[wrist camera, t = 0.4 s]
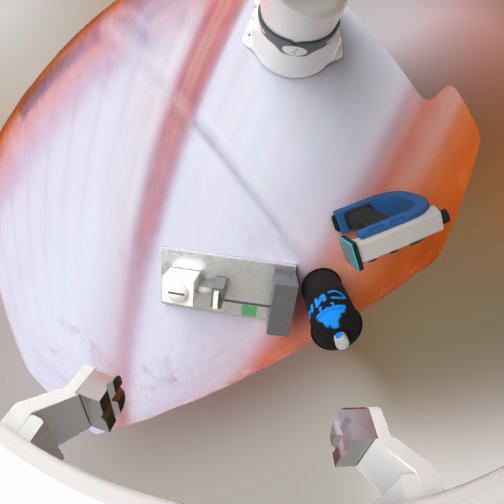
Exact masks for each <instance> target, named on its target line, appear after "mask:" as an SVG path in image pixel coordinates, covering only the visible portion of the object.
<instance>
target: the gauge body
mask: <svg viewBox="0 0 504 504" xmlns="http://www.w3.org/2000/svg"><path fill="white" fill-rule="evenodd" d="M199 281H200V272H198V271H191V270H185V269H178V268H172V267H170V269H169V270H168V271H167V272H166V273H165V274H164V275H163V276H162V301H164V302H169V303H175V304H180V305H186V306H192V307H193V305H194V303H195V301H196V299H197V297H198V295H199V293H205V294H211V291H212V288H208V287H202V286H199Z"/></svg>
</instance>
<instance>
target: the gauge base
mask: <svg viewBox="0 0 504 504" xmlns="http://www.w3.org/2000/svg"><path fill="white" fill-rule="evenodd" d="M170 267H172V268H178V269H185V270H191V271H198V272H200V281H199V286H202V287H208V288H212V286H213V284H214V281H215V279H216V277H222V278H227V283H226V293H225V299H224V302H223V305H222V308H221V309H219V308H217V309H213V307H210V305H211V294H205V293H199V295H198V297H197V299H196V301H195V303H194V305H193V307H192V306H186V305H180V304H175V303H169V302H164V301H162V303H164V304H170V305H175V306H181V307H187V308H192V309H198V310H204V311H211V312H217V313H223V314H230V315H237V316H244V317H251V318H259V319H266V320H267V331H266V334H269V335H277V336H286V337H288V336H289V331H290V327H291V322H292V317H293V313H294V308H295V303H296V299H297V294H298V289H299V286H298V281H297V276H296V264H289V263H281V262H274V261H267V260H259V259H252V258H245V257H237V256H230V255H223V254H216V253H208V252H201V251H194V250H187V249H180V248H173V247H166V246H164V247H163V248H162V276H163V275H164V274H165V273H166V272H167V271H168V270H169V269H170Z"/></svg>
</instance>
